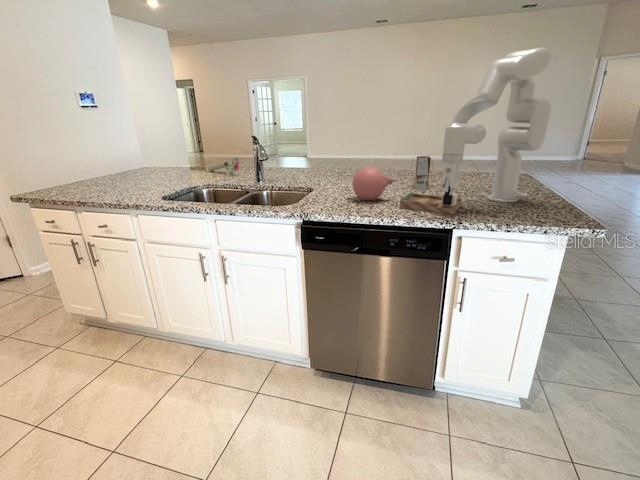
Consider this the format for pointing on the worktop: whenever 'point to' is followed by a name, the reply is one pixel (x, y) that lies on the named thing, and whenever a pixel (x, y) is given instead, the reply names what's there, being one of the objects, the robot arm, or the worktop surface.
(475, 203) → the worktop surface
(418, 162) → the coffee box
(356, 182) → the balloon
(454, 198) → the block
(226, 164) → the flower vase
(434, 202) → the box
